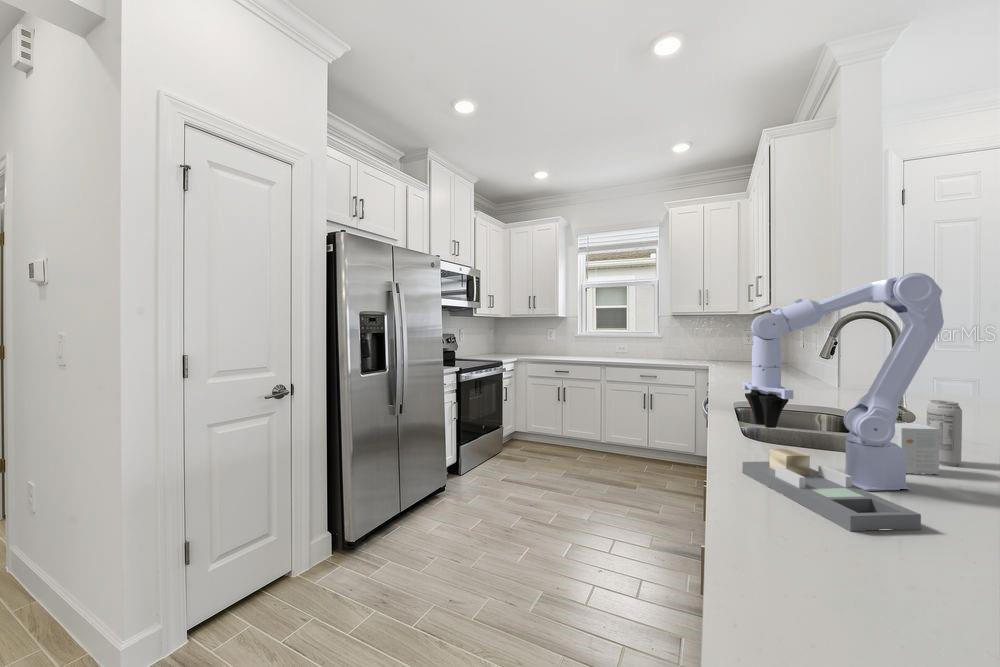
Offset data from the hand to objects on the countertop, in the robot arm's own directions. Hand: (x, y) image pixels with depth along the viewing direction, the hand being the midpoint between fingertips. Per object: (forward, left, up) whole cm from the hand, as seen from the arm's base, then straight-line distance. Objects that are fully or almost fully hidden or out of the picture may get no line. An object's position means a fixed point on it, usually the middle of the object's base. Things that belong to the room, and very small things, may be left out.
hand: (765, 425), depth 98 cm
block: (0, +8, -8) cm, 11 cm away
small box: (-34, +1, -11) cm, 36 cm away
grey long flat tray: (0, +15, -10) cm, 18 cm away
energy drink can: (-48, -4, -11) cm, 49 cm away
